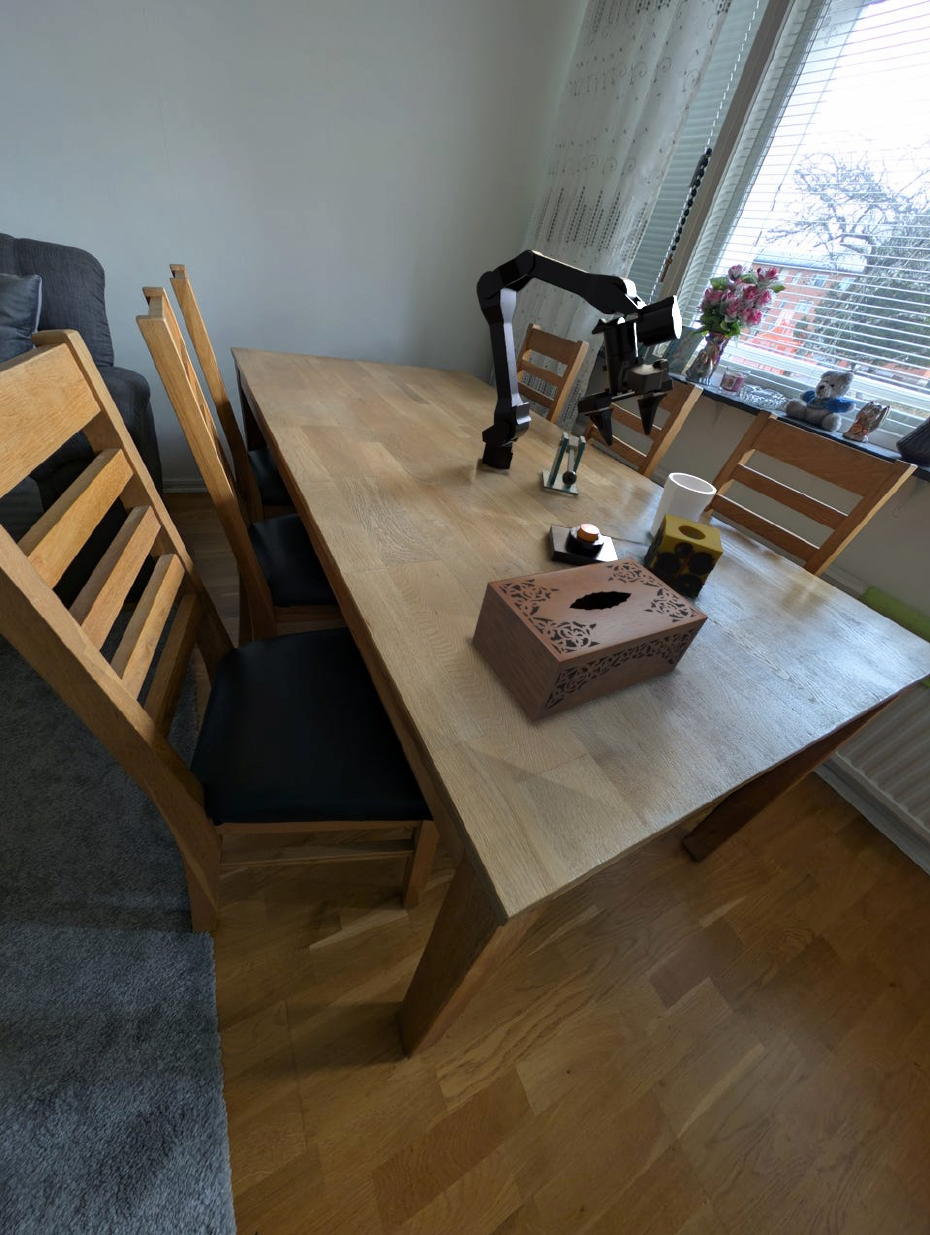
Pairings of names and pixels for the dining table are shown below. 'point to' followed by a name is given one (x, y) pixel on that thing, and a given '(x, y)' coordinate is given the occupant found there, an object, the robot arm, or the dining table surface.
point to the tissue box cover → (582, 633)
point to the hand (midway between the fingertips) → (629, 440)
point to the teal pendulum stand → (553, 478)
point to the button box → (579, 547)
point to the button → (588, 532)
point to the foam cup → (683, 498)
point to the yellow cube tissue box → (683, 554)
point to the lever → (570, 461)
